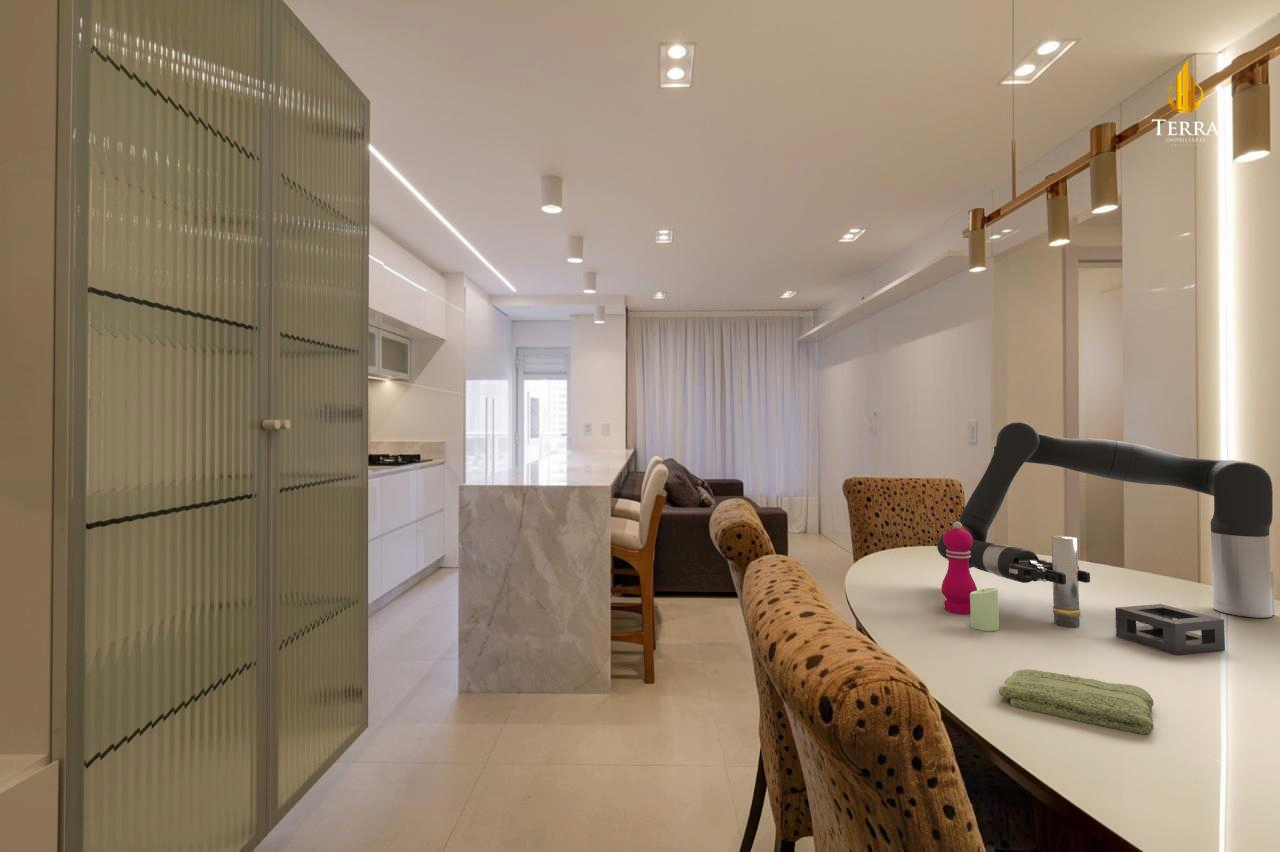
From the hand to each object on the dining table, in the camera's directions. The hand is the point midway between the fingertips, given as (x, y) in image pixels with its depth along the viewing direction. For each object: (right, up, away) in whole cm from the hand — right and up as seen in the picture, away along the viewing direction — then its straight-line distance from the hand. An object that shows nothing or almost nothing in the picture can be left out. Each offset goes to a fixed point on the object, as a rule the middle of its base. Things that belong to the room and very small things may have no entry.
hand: (1076, 578), depth 124 cm
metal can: (0, -10, +2) cm, 10 cm away
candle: (-18, -10, 0) cm, 21 cm away
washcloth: (-26, -10, -36) cm, 45 cm away
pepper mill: (-17, -11, +13) cm, 24 cm away
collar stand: (+10, -10, -10) cm, 17 cm away
